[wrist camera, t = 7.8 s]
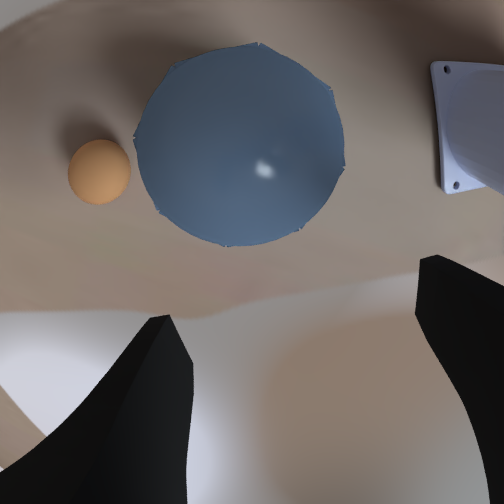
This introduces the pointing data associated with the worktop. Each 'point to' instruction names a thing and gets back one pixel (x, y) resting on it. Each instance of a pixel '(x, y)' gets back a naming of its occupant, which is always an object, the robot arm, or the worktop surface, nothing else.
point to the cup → (240, 145)
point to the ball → (99, 171)
